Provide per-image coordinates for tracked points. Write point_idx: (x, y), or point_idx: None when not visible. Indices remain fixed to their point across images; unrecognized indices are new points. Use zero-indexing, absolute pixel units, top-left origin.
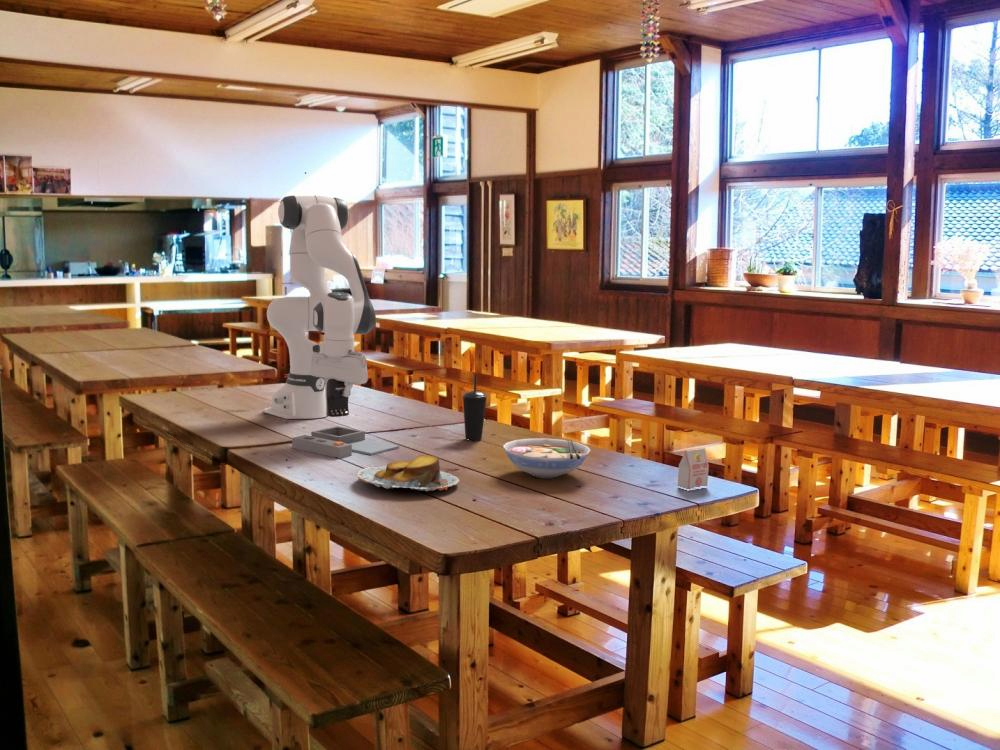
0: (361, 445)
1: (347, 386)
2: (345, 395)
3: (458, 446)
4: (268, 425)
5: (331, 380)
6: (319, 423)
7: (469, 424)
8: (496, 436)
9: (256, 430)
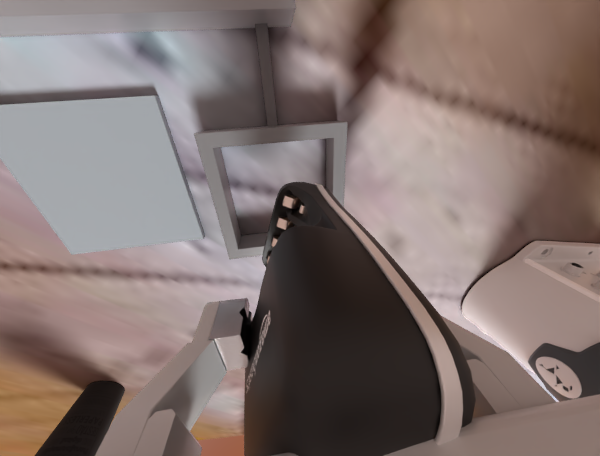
0: (131, 173)
1: (129, 407)
2: (204, 309)
3: (41, 350)
4: (555, 163)
5: (348, 410)
6: (443, 268)
7: (63, 426)
8: (114, 416)
9: (572, 81)
